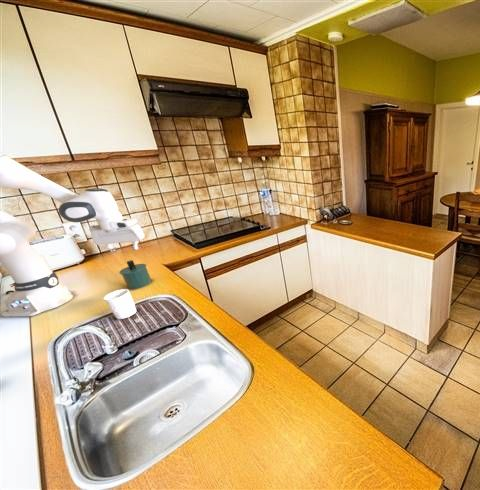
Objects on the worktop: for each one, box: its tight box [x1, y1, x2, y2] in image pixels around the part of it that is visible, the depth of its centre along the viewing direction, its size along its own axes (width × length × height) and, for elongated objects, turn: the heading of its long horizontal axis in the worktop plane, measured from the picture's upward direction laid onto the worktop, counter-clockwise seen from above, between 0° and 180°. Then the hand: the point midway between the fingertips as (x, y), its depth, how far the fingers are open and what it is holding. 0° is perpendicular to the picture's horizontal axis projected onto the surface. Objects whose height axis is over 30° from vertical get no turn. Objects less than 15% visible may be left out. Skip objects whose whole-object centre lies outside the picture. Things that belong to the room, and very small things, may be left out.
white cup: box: [103, 288, 137, 320], centre depth 109 cm, size 8×8×10 cm
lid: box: [118, 259, 147, 276], centre depth 131 cm, size 10×10×5 cm
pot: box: [121, 267, 152, 290], centre depth 133 cm, size 9×9×8 cm
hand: (125, 250), depth 127 cm, fingers open, 8 cm apart
